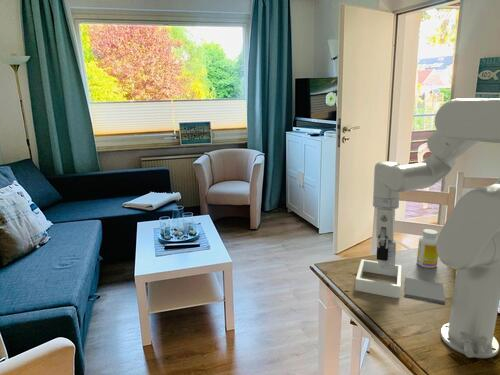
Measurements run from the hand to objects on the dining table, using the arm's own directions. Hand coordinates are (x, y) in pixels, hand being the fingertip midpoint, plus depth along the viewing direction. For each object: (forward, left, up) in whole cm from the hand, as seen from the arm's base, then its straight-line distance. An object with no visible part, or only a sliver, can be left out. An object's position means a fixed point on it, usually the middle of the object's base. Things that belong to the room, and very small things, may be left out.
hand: (383, 254), depth 116 cm
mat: (+1, -13, -11) cm, 17 cm away
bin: (+1, +1, -11) cm, 11 cm away
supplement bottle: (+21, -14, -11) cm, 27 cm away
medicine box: (0, -1, -4) cm, 4 cm away
